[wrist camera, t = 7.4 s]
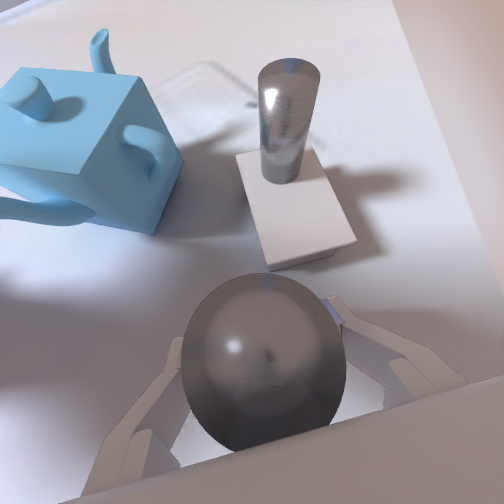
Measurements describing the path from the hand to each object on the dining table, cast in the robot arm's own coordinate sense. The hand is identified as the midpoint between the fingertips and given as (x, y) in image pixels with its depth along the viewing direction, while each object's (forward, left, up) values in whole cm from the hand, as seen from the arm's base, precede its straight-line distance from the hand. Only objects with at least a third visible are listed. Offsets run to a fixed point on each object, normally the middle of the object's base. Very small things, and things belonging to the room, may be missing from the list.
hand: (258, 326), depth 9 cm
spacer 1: (-10, +14, -9) cm, 19 cm away
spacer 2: (0, 0, -5) cm, 5 cm away
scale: (-7, +12, -14) cm, 20 cm away
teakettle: (-27, -1, -14) cm, 31 cm away
